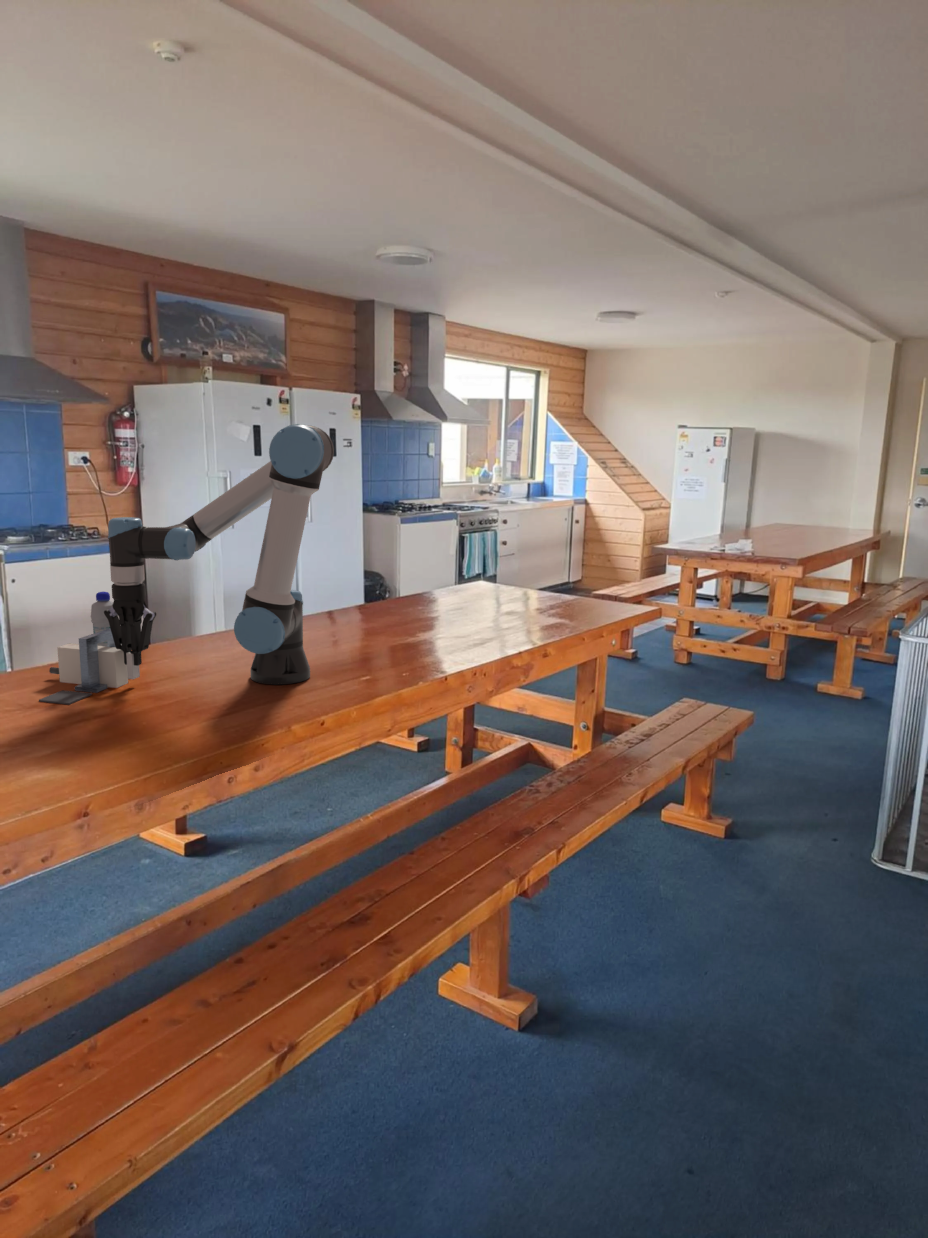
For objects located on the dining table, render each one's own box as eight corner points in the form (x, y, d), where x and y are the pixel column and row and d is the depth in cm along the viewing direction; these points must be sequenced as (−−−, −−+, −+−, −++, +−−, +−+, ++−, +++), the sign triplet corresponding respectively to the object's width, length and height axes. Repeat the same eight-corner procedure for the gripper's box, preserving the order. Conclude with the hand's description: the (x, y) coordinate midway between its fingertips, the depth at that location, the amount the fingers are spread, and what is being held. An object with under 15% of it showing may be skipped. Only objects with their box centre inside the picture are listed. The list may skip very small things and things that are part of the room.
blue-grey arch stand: (133, 677, 214) (130, 627, 211) (96, 692, 200) (93, 639, 197) (112, 675, 215) (109, 625, 212) (74, 690, 201) (71, 637, 198)
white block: (128, 683, 209) (126, 648, 207) (116, 688, 204) (114, 652, 203) (58, 676, 213) (55, 641, 211) (45, 681, 209) (43, 645, 207)
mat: (92, 694, 198) (92, 693, 198) (69, 704, 191) (69, 703, 190) (62, 691, 200) (62, 690, 200) (38, 701, 192) (38, 699, 192)
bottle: (92, 669, 220) (87, 594, 216) (95, 662, 226) (91, 589, 222) (119, 668, 222) (115, 593, 218) (122, 661, 228) (118, 589, 224)
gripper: (161, 581, 203) (166, 676, 207) (114, 578, 205) (119, 671, 210) (143, 586, 195) (148, 684, 200) (94, 583, 198) (100, 679, 203)
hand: (133, 677), depth 205 cm, fingers closed
